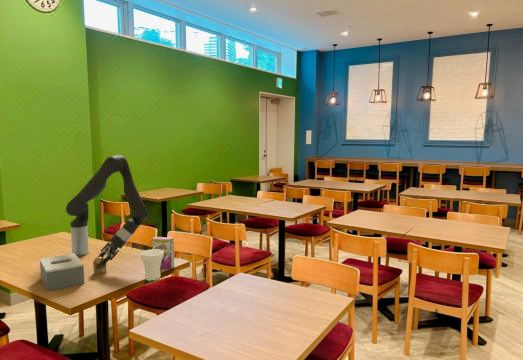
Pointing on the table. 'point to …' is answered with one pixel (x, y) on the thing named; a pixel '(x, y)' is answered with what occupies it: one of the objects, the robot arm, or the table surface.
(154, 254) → the cup
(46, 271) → the coin box
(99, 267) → the token
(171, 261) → the candy bar box
